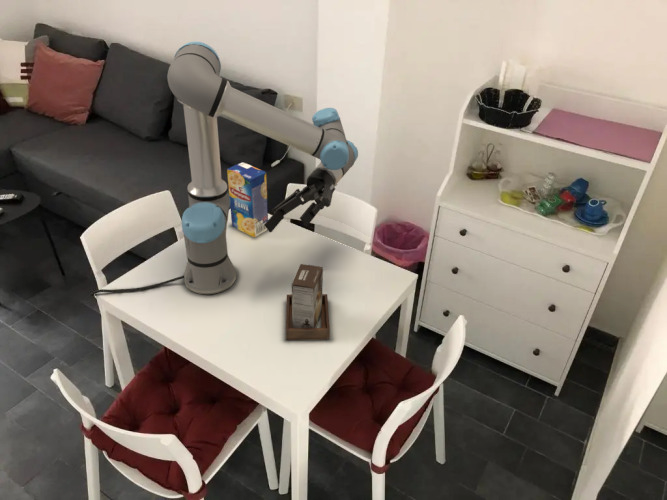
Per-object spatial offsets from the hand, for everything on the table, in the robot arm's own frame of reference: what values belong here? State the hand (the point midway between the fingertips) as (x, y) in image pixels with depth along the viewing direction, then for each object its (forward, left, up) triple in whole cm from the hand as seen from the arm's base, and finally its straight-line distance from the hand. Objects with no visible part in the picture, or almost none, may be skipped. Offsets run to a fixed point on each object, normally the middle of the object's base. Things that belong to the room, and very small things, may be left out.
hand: (284, 225), depth 141 cm
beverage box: (-13, +39, -27) cm, 49 cm away
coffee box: (+6, -8, -27) cm, 28 cm away
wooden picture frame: (+6, -8, -27) cm, 28 cm away
